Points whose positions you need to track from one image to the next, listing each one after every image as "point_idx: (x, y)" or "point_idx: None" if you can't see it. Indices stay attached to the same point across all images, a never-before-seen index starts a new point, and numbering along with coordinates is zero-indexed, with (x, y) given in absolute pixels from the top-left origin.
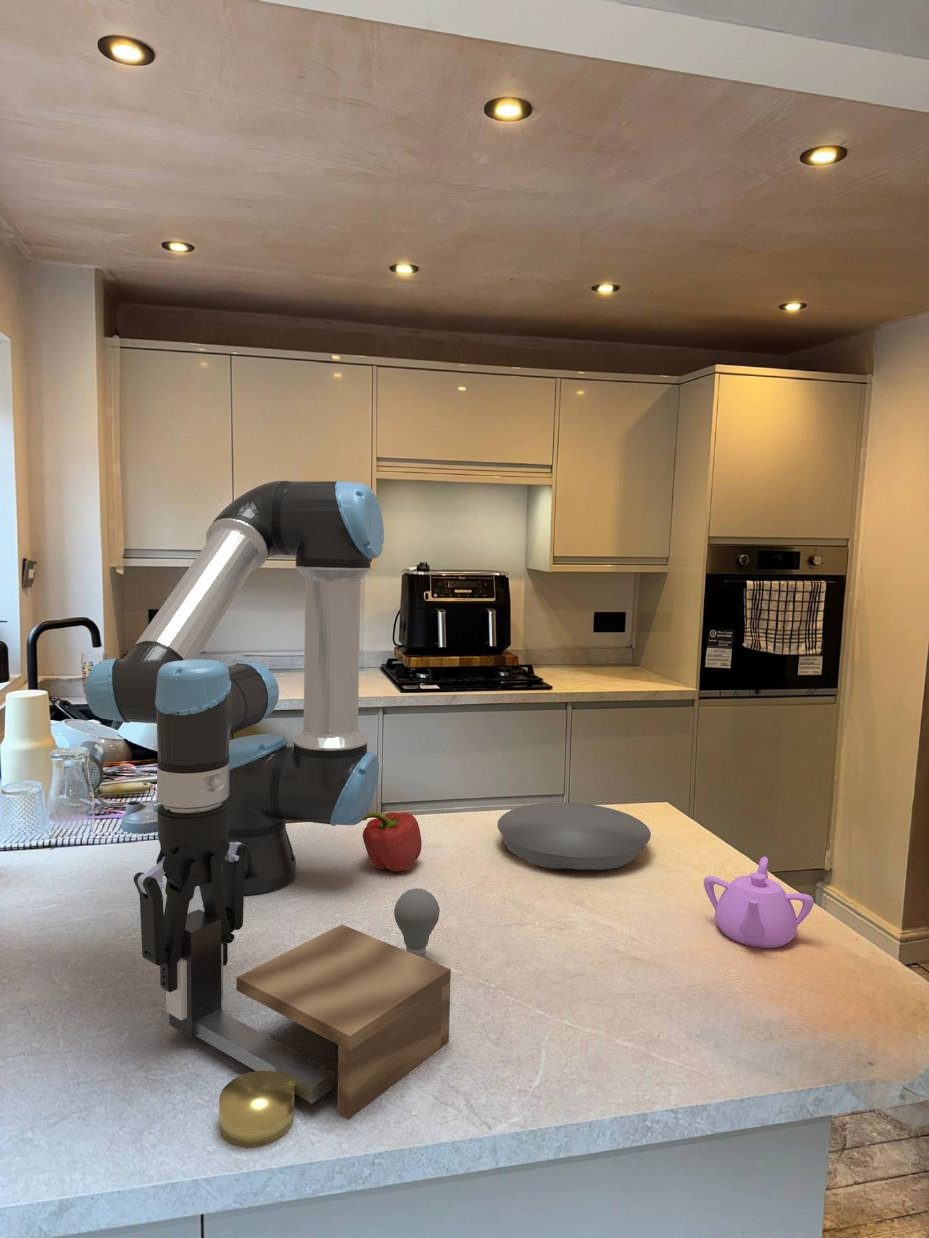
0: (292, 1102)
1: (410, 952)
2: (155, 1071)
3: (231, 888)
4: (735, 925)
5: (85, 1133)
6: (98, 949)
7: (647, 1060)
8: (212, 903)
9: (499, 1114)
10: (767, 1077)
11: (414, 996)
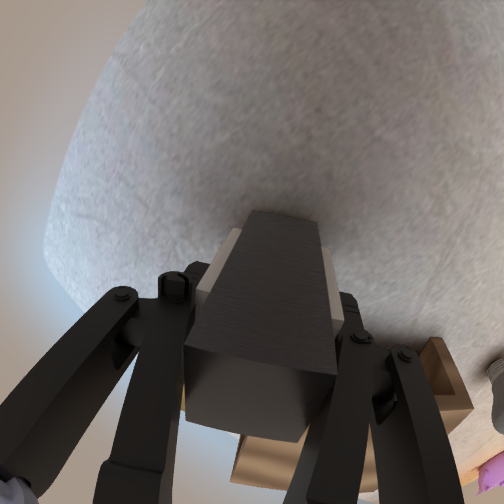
0: None
1: (493, 376)
2: (187, 245)
3: (389, 483)
4: (490, 468)
5: (91, 254)
6: None
7: None
8: (297, 467)
9: None
10: (369, 497)
11: None
